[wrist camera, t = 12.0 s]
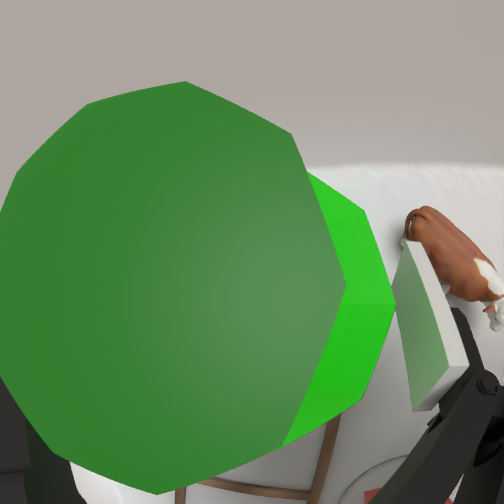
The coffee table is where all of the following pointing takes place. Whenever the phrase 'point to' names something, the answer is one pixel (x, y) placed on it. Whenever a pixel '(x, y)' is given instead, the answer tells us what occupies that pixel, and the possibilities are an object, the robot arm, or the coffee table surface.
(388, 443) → the coffee table surface
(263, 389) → the plastic bottle
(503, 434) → the robot arm
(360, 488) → the red die stand
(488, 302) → the bull figurine
